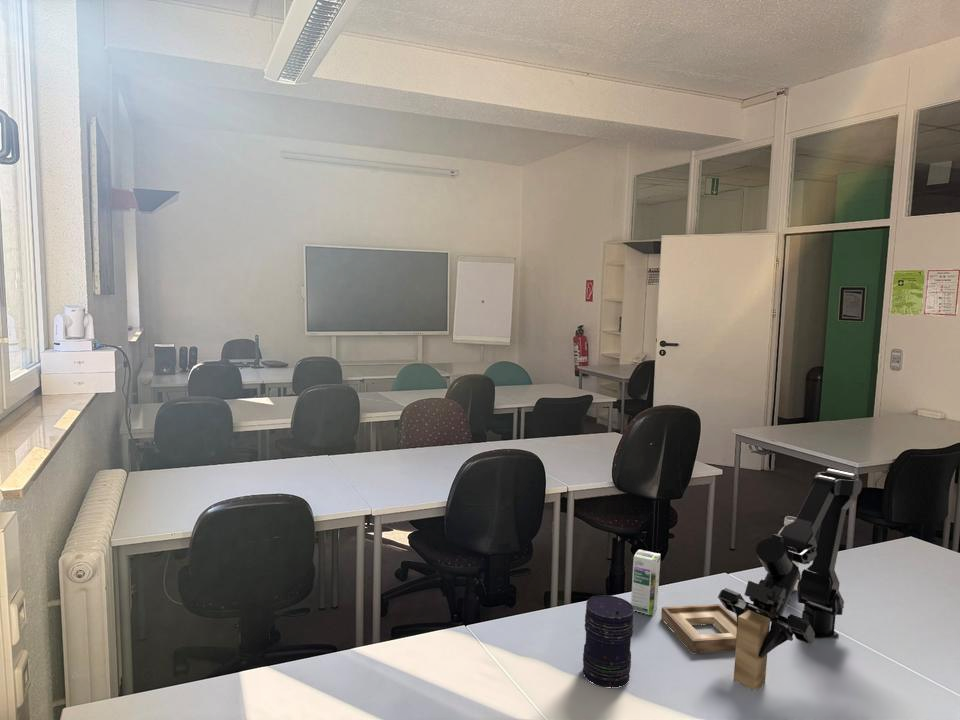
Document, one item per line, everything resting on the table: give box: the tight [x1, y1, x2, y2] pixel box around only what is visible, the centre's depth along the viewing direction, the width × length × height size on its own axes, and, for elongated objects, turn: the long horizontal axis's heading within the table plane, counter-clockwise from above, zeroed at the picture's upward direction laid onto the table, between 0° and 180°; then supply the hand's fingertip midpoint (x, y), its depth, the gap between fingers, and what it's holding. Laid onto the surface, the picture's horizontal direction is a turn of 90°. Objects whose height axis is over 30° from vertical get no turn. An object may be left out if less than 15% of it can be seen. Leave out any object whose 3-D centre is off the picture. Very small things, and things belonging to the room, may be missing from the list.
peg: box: [733, 610, 771, 691], centre depth 133 cm, size 4×4×14 cm
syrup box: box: [630, 549, 661, 616], centre depth 162 cm, size 6×6×14 cm
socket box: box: [660, 603, 737, 654], centre depth 152 cm, size 16×16×3 cm
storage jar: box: [582, 594, 635, 689], centre depth 133 cm, size 10×10×15 cm
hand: (748, 651), depth 132 cm, fingers closed on peg, 4 cm apart
